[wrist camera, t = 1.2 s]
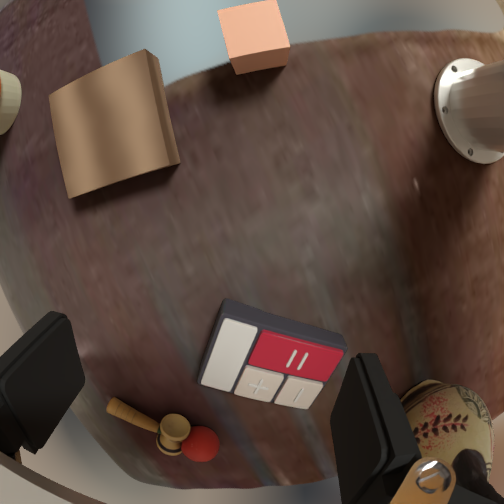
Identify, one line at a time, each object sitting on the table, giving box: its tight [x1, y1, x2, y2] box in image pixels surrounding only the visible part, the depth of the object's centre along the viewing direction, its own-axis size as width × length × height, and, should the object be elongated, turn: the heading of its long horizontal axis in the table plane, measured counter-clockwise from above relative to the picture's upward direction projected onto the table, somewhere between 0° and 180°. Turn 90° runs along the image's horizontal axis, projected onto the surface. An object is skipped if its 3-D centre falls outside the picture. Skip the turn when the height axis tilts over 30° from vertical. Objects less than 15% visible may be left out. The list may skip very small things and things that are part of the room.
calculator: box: [197, 299, 348, 409], centre depth 35 cm, size 11×4×15 cm
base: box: [49, 49, 180, 199], centre depth 27 cm, size 12×12×4 cm
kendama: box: [107, 397, 220, 462], centre depth 40 cm, size 8×6×18 cm
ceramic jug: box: [400, 380, 504, 504], centre depth 25 cm, size 17×15×30 cm
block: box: [217, 0, 290, 75], centre depth 23 cm, size 5×5×6 cm
